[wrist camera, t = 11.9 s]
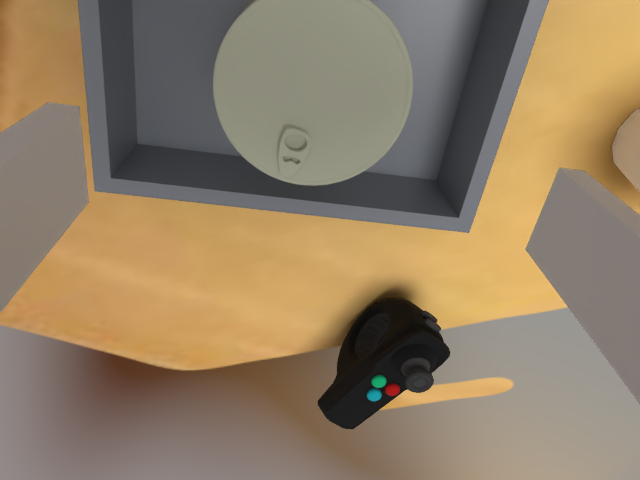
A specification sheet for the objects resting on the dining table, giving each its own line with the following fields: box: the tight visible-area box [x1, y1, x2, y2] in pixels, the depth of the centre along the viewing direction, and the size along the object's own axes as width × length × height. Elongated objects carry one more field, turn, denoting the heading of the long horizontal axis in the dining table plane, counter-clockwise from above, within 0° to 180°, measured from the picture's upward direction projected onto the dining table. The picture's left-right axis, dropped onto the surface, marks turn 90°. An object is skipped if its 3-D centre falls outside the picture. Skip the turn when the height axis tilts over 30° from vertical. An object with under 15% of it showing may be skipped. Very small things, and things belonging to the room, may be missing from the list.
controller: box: [318, 298, 450, 429], centre depth 42 cm, size 4×12×10 cm, turn 140°
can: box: [213, 0, 413, 186], centre depth 27 cm, size 9×9×12 cm
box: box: [78, 0, 549, 233], centre depth 31 cm, size 24×18×7 cm
